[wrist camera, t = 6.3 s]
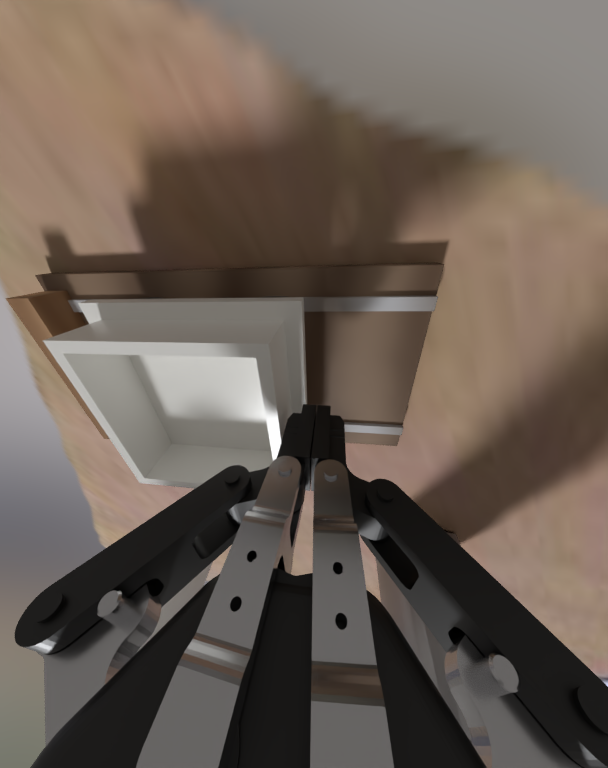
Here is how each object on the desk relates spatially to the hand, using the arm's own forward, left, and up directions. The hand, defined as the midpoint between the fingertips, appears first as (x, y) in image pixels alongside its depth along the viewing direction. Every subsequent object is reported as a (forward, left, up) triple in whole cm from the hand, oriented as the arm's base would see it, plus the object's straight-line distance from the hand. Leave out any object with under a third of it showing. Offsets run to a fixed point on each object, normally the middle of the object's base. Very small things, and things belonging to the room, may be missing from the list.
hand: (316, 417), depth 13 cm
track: (+6, 0, -6) cm, 9 cm away
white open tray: (+7, 0, -4) cm, 8 cm away
